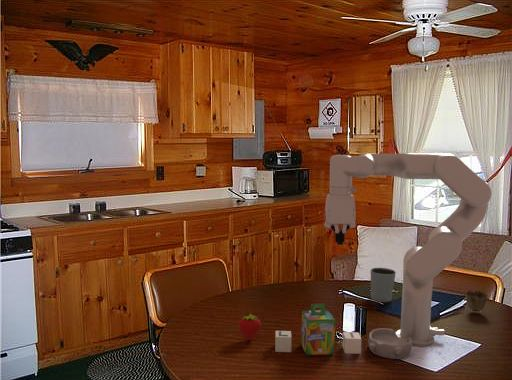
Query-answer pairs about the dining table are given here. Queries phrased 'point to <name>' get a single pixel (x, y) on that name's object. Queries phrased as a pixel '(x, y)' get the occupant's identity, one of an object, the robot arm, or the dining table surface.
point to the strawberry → (249, 326)
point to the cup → (476, 301)
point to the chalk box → (318, 331)
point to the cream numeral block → (352, 342)
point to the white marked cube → (283, 341)
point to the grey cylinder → (382, 284)
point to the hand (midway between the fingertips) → (339, 243)
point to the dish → (389, 344)
